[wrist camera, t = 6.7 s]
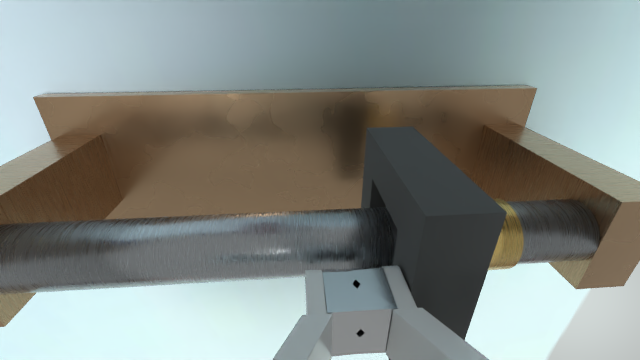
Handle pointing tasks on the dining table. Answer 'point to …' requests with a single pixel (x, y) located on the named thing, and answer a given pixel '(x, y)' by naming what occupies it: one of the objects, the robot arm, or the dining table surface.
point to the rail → (284, 188)
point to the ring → (432, 222)
